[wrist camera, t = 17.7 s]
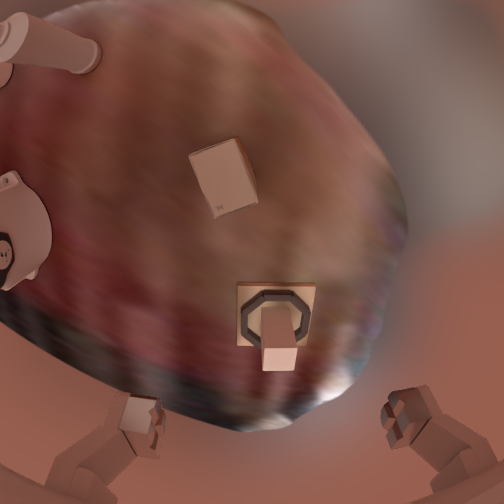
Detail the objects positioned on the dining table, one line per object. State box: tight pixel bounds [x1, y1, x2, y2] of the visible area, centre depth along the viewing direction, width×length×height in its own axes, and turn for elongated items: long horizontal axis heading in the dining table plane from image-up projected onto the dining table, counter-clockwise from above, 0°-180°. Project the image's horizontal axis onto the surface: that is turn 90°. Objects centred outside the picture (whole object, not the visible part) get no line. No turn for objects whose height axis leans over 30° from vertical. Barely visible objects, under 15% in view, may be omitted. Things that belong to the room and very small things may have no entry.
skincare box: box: [189, 137, 258, 219], centre depth 30 cm, size 6×4×12 cm
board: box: [237, 282, 316, 350], centre depth 44 cm, size 11×11×2 cm
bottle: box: [0, 12, 102, 74], centre depth 18 cm, size 5×5×25 cm
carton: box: [260, 307, 297, 371], centre depth 40 cm, size 4×4×9 cm
